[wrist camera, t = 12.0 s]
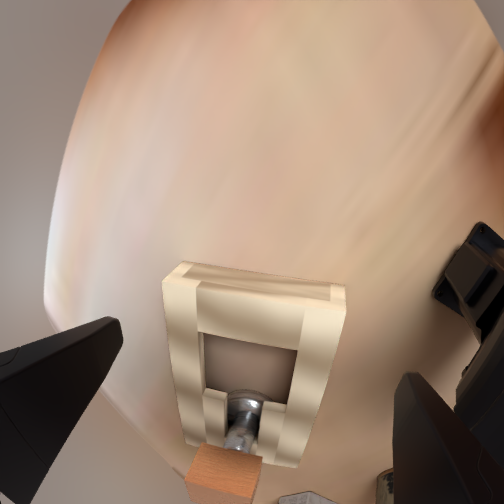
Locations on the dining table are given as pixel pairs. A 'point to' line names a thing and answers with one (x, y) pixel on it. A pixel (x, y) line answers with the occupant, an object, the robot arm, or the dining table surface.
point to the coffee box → (304, 499)
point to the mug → (385, 487)
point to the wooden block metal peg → (230, 456)
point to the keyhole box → (256, 331)
